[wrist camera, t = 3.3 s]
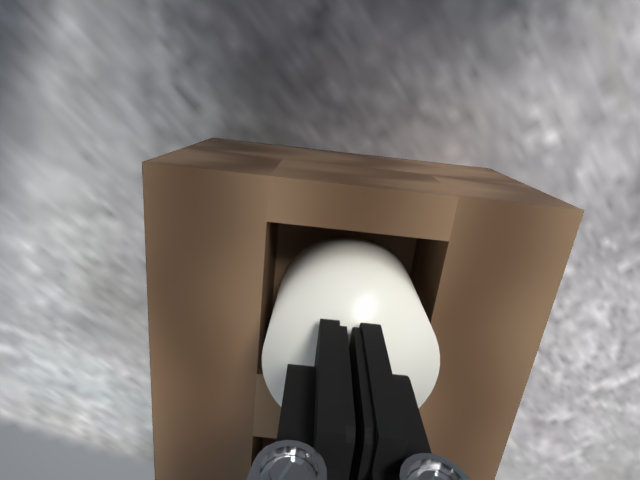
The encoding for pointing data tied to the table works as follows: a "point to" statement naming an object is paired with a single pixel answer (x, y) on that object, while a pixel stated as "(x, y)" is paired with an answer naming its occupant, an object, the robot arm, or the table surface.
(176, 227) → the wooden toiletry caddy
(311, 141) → the table surface
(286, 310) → the ivory button
